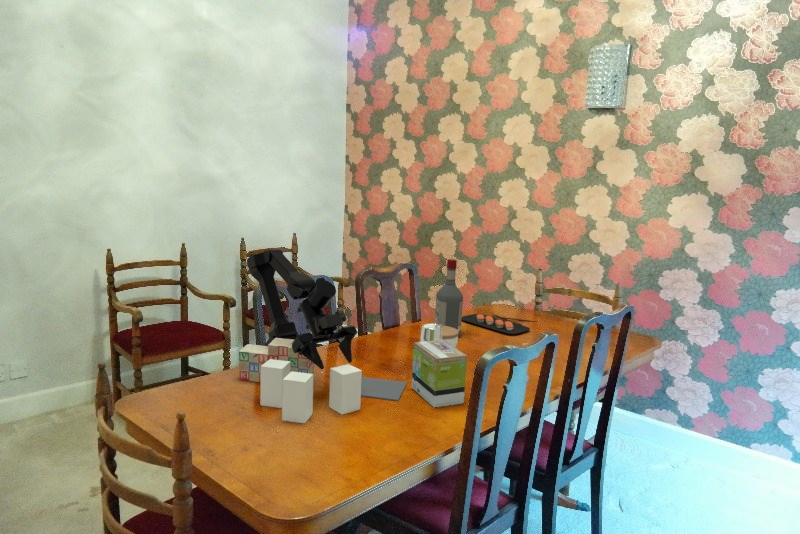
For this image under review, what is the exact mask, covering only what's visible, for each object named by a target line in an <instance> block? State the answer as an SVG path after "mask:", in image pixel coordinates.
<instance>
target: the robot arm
mask: <svg viewBox="0 0 800 534" xmlns="http://www.w3.org/2000/svg"><path fill="white" fill-rule="evenodd" d="M246 266H247V268H248V271H249V272H250V276H252V277H253V278H254V280H256V281H257V282H258V284H259V287H260V291H261V294H262V297H263V302H264V304H265V308H266V309H265V310H266V312H267V315H268V318H269V322H270V327H269V330H268V333H267V334H268V340H267V341H266V342H265V343H264V345H263V346H268V345H269V344H270V343H271V342H272V341H273V340H274V339H275V338H282V339H293V340H294V342H293V343H292V349H293V351H294V353H298V352H299V355H303V356H305V357H306V358H308V359H309V360H311V361H312V362H313V363H314V366H315V365H316V366H317V367H318V368H319V369H321V370H323V369H324V368H325V365H324V363H323V360H322V358H321V355H320V353H319V351H318V348H317V344H319V343H325V342H331V341H335V340H336V342H337V343H338V345H337V346H338V348H339V350H340V352H341V353H342V355H343V356H344V358H345V359H346V361H347V362H348V364H351V363H352V362H353V358H352V357H353V356H352V341H353V339H354V338H355V337H356V335H357V334H358V329H357V328H356V326H355V325H345V326H342V325H344V322H346V321H347V316H346V313H345V311H344V310H343V309H341V310H337V311H335V313H334V314H333V313H332V314H329V313H325V310H324V308H326V307H328V306H327V305H329V303H330V302H331V300H333V298H334V297H335V295H336V293H337V289H336V287H335V285H333V283H331V282H330V281H329V280H326V279H325V277H317V278H316V280H315V279H314V278H312V277H311V276H309V275H308V274H306V273H302V272H300V271H299V270H298V269H297V268H296V267H295V265H294V264H292V262H291V261H290V260H289V259H288V258H287V257H286V255H284V252H283V250H281V249H280V248H277V249H276V248H275V249H272V248H271V249H267V250H264V251H262V252H259V253H250V255H249V256H248V257H247V258H246ZM276 273H277V274H278V275H279V276H280V277H281V279H282V280H283V281H284V282H285V284H286V291H287V293H288V294H289V296H290V297H291V299H292V300H293V301H297V300H302V299H303V300H302V301H301V302H299V304H298V305H299V306H298V307H297V313H302V315H303V317H304V319H305V322H306V326H305V329H306V330H310V332H307V333H306V332H305V333H300V334H299V333H298V331H297V328H296V324H295V322H294V321H289V320H288V319H287V316H286V313H285V310H284V307H283V303H282V301H281V300H282V299H281V297H280V293H279V290H278V289H279V288H278V287H277V283H276V281H275V275H276ZM337 326H342V327H341V328H340V329H339V330H338V331H337V332H334V331H336V330H337V329H338V327H337Z"/></svg>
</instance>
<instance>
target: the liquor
mask: <svg viewBox="0 0 800 534" xmlns="http://www.w3.org/2000/svg"><path fill="white" fill-rule="evenodd" d="M457 262H458V261H457V259H454V258H453V259H452V258H450V259H447V261H446V263H447V264H446V279H445V284H444V285H442V287H440V288H439V290H437V292H436V294H435V295H436V296H435V312H434V324H438V325H440V324H442V325H443V326H449V327H452V328H455V329H457V330H458V331H459V335H458V338H460V337H461V333H462V321H463V320H462V317H463V306H464V305H463V304H464V303H463V302H464V296H463V294H462V292H461V290H460V289H459V287H458V286H457V285H456V273H457V272H456V270H457V266H458V265H457V264H458V263H457Z"/></svg>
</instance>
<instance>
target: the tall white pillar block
mask: <svg viewBox="0 0 800 534" xmlns="http://www.w3.org/2000/svg"><path fill="white" fill-rule="evenodd" d="M313 401H314V381H313V374H309V373H301V372H292V371H291V372H290V373H289V374H288V375H287V376H286V377H285V378H284V379H283V395H282V408H281V409H282V410H281V412H282V413H281V415H282V416H281V420H282V421H283V422H291V423H298V424H306V423H307V421H308V420H309V419H310V418H311V416H312V415H313V409H314V408H313V405H314V402H313Z"/></svg>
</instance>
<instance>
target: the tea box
mask: <svg viewBox="0 0 800 534" xmlns="http://www.w3.org/2000/svg"><path fill="white" fill-rule="evenodd" d="M412 349H413V350H412V351H413V352H412V353H413V354H412V356H413V357H412V373H411V374H412V375H411V389H412V390H413V391H415V392H416V393H417V394H418V395H419V396H421V397H422V398H423V400H425V402H427V403H428V404H429V405H430V406H431V407H432V406H433V407H434V408H435V407H437V408H443V407H442V406H444V407H449V405H451V406H457V405H462V404H464V403H465V391H466V390H465V389H466V376H467V374H466V373H467V360H468V359H467V358H468V355H467V354H465V353H464V352H462V351H461V350H459V349H458V348H457V347H456V348H455V347H453V346H451V345H450V344H448V343H447V342H445V341H444V340H433V341H424V342H420V341H417V342H416V341H414V342H413V348H412ZM433 407H432V408H433ZM434 408H433V409H434ZM435 409H436V408H435Z"/></svg>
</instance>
